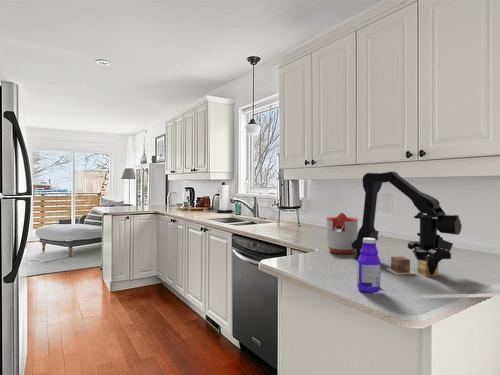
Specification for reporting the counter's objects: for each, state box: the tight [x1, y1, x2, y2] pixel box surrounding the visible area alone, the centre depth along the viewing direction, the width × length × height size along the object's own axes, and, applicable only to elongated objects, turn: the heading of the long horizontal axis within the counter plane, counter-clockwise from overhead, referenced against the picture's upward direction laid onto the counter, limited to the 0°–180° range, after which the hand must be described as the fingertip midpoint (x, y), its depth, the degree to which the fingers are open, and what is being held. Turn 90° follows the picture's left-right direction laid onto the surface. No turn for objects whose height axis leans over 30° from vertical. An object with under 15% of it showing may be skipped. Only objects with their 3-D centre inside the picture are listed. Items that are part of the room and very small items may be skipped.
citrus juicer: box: [325, 212, 359, 255], centre depth 167 cm, size 16×17×20 cm
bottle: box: [356, 238, 382, 293], centre depth 110 cm, size 7×6×17 cm
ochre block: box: [417, 260, 439, 277], centre depth 125 cm, size 5×5×5 cm
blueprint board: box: [385, 267, 416, 275], centre depth 127 cm, size 16×18×1 cm
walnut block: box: [390, 256, 411, 273], centre depth 129 cm, size 5×5×5 cm
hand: (427, 272), depth 125 cm, fingers closed on ochre block, 5 cm apart
